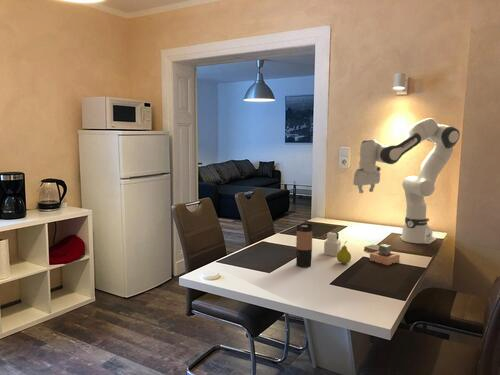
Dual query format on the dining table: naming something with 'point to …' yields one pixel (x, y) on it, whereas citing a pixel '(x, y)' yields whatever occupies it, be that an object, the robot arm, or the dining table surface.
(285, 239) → the dining table surface
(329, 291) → the dining table surface
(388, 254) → the metal peg
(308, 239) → the travel mug
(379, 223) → the dining table surface
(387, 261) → the terracotta socket
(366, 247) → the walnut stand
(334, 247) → the medicine bottle
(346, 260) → the fruit
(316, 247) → the dining table surface
